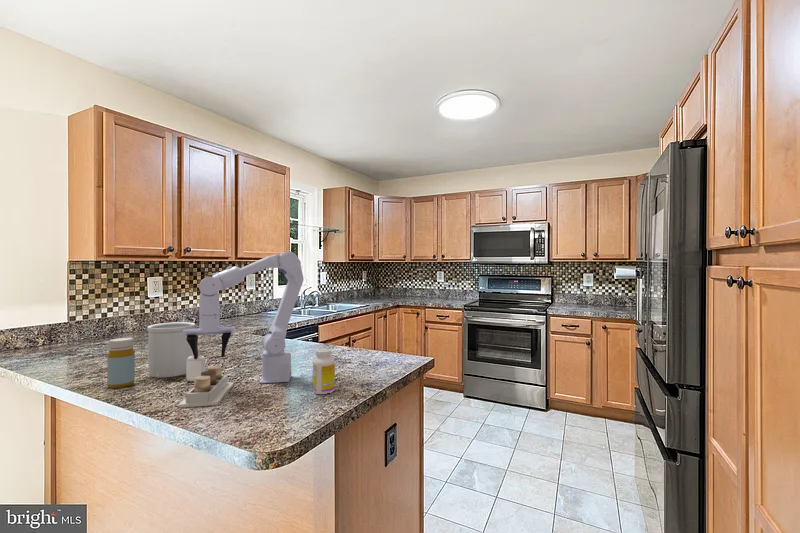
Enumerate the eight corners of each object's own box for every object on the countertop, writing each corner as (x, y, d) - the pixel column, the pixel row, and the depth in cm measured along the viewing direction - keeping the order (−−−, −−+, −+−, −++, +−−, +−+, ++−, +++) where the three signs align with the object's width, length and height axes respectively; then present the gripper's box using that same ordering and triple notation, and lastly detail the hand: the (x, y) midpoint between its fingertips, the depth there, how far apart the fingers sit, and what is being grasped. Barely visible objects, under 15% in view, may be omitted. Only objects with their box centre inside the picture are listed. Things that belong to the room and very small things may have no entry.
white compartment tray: (233, 384, 118) (233, 374, 118) (217, 404, 101) (217, 392, 101) (200, 386, 116) (200, 375, 116) (178, 407, 99) (178, 394, 99)
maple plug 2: (222, 377, 116) (222, 365, 116) (219, 381, 112) (219, 368, 112) (209, 378, 115) (209, 366, 116) (205, 382, 112) (205, 369, 112)
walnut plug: (217, 383, 111) (217, 370, 111) (213, 387, 107) (213, 373, 107) (203, 384, 110) (203, 370, 110) (198, 388, 106) (198, 374, 106)
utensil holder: (202, 370, 135) (203, 323, 135) (159, 381, 122) (159, 329, 123) (182, 365, 143) (182, 320, 143) (139, 374, 130) (139, 325, 131)
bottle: (139, 383, 120) (139, 338, 120) (115, 389, 113) (115, 342, 113) (126, 380, 123) (126, 336, 123) (102, 387, 116) (103, 340, 116)
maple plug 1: (212, 389, 105) (212, 375, 106) (207, 393, 102) (207, 379, 102) (197, 389, 105) (197, 376, 105) (192, 394, 101) (192, 380, 101)
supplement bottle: (338, 389, 113) (338, 348, 114) (327, 396, 107) (327, 353, 107) (320, 387, 116) (320, 347, 116) (308, 394, 109) (308, 351, 109)
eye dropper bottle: (194, 383, 120) (194, 346, 120) (184, 380, 123) (184, 345, 123) (207, 379, 124) (207, 344, 124) (196, 377, 127) (196, 343, 127)
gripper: (235, 312, 121) (235, 352, 121) (186, 314, 116) (186, 356, 116) (233, 314, 114) (233, 357, 114) (181, 317, 109) (181, 361, 109)
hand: (209, 357), depth 115 cm, fingers open, 7 cm apart
